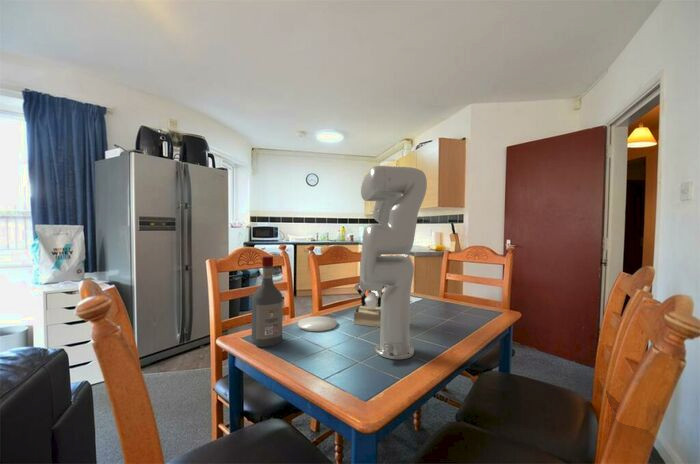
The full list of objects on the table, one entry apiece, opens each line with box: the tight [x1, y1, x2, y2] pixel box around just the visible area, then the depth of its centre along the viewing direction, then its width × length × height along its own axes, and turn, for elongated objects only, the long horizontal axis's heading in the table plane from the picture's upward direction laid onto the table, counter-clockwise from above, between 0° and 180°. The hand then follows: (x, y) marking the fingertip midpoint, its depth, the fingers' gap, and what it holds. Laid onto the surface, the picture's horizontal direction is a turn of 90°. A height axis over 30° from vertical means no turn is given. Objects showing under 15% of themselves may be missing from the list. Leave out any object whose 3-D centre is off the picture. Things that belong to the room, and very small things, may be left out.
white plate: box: [297, 315, 338, 332], centre depth 123 cm, size 16×16×1 cm
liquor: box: [251, 255, 284, 348], centre depth 105 cm, size 9×9×30 cm
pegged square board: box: [353, 303, 381, 328], centre depth 129 cm, size 12×12×7 cm
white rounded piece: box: [365, 291, 378, 309], centre depth 128 cm, size 6×6×7 cm
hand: (371, 305), depth 128 cm, fingers closed on white rounded piece, 6 cm apart
